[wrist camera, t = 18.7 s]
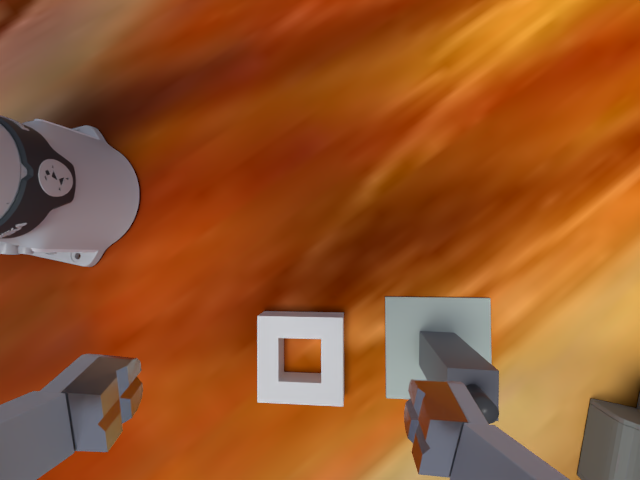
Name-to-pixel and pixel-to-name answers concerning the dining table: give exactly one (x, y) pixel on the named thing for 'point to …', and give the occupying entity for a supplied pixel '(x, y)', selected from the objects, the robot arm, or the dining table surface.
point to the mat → (435, 316)
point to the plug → (460, 368)
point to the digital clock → (611, 442)
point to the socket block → (297, 384)
